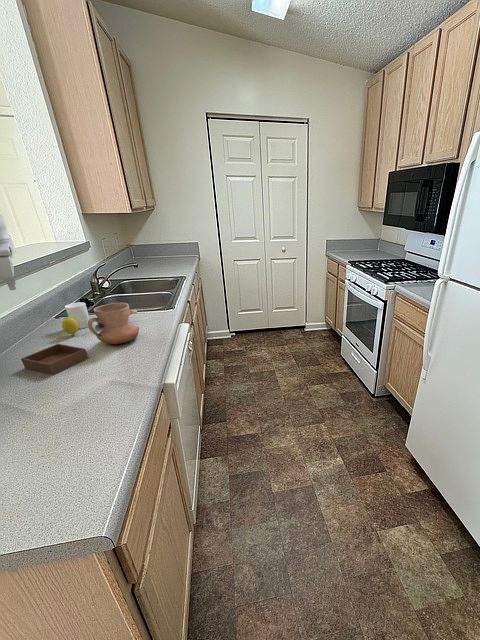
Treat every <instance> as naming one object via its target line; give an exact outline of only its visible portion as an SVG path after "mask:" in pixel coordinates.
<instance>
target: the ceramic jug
mask: <svg viewBox="0 0 480 640" xmlns="http://www.w3.org/2000/svg"><path fill="white" fill-rule="evenodd" d="M93 312H94V314H95V316H96V317H92V318H91V317H90V318H89V321H88V327H87V328H88V330H89V331H90V333H92V334H93V335H94V336H95V337H96V338H97V340H99V341H100V342H102V343H103V344H107V345H121V344H126V343H128V342H131V341H133V340H134V339H135V338H137V337H138V335H139V332H140V326H139V325H138V326H137V325H135V324H133V323H131V322H129V317H131V315H132V314H136V315H137V314H138V310H137V309H131V310H130V305H129V303H127V302H112V303H107V304H103V305H99V306H96V307H94V308H93ZM97 322H99V323H102V324H103V325H104V326H103V328H101V330H100V331H99V333H98V332H96V330H95V329H94V328H93V323H97Z"/></svg>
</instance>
